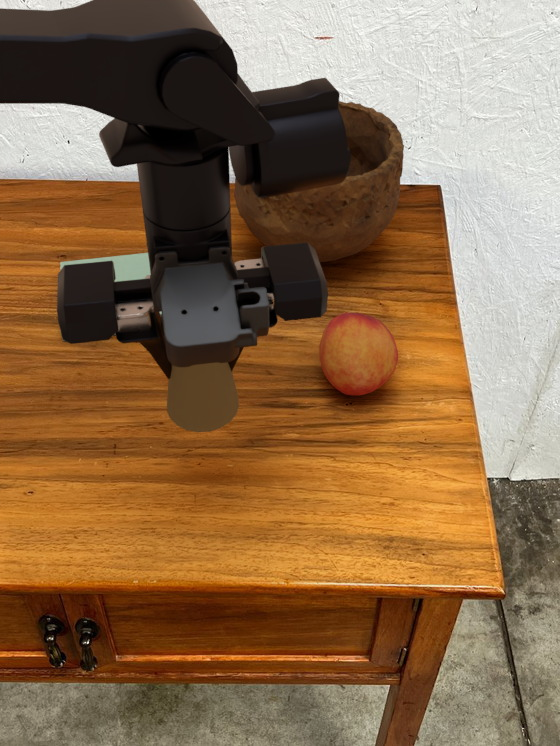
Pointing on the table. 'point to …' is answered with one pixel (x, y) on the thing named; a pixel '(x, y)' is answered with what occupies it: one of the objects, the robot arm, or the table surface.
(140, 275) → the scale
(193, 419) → the brown game pawn
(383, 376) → the fruit
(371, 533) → the table surface
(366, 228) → the bowl
